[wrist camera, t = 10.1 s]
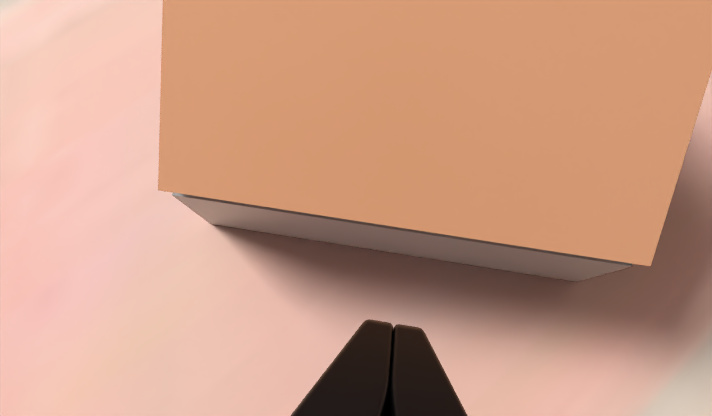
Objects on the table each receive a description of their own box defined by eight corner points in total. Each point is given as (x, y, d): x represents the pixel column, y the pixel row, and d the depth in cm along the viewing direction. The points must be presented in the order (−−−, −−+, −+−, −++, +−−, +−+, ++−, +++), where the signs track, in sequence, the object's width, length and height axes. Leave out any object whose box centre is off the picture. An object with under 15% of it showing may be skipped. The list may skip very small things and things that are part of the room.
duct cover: (637, 256, 15) (650, 266, 14) (170, 184, 15) (158, 190, 15) (749, -114, 12) (772, -127, 11) (181, -176, 13) (167, -192, 12)
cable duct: (577, 282, 19) (632, 266, 15) (210, 223, 20) (171, 195, 16) (589, 66, 21) (639, 4, 17) (259, 22, 22) (236, -47, 18)
